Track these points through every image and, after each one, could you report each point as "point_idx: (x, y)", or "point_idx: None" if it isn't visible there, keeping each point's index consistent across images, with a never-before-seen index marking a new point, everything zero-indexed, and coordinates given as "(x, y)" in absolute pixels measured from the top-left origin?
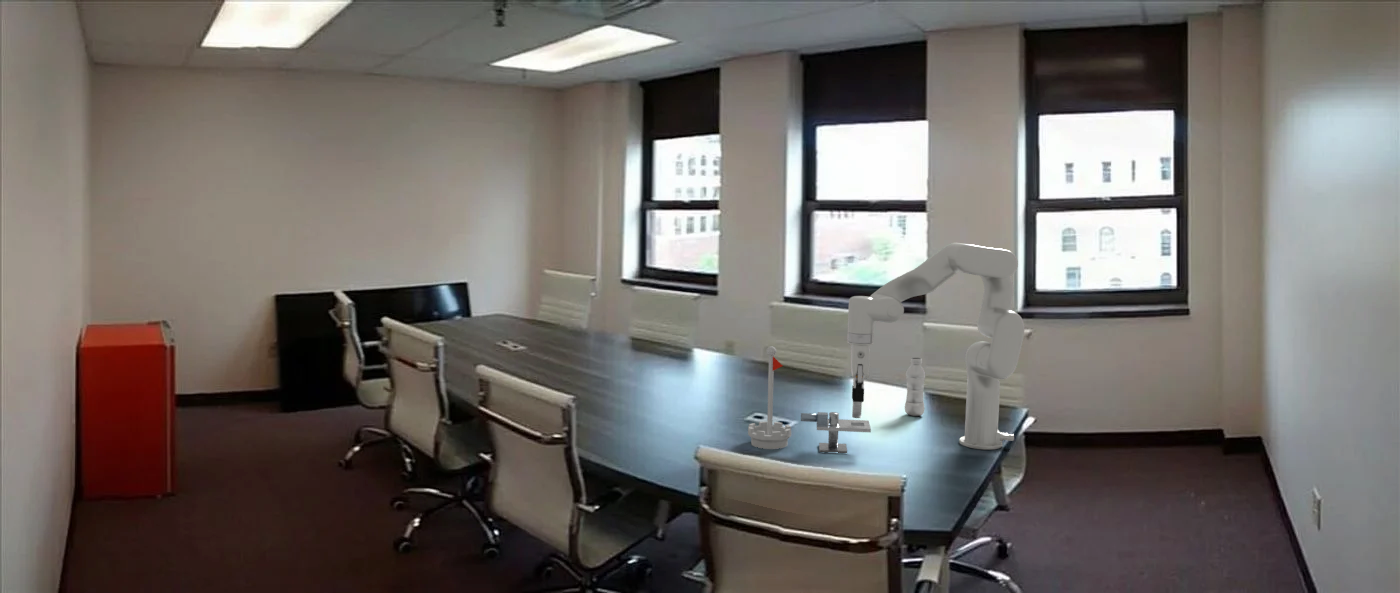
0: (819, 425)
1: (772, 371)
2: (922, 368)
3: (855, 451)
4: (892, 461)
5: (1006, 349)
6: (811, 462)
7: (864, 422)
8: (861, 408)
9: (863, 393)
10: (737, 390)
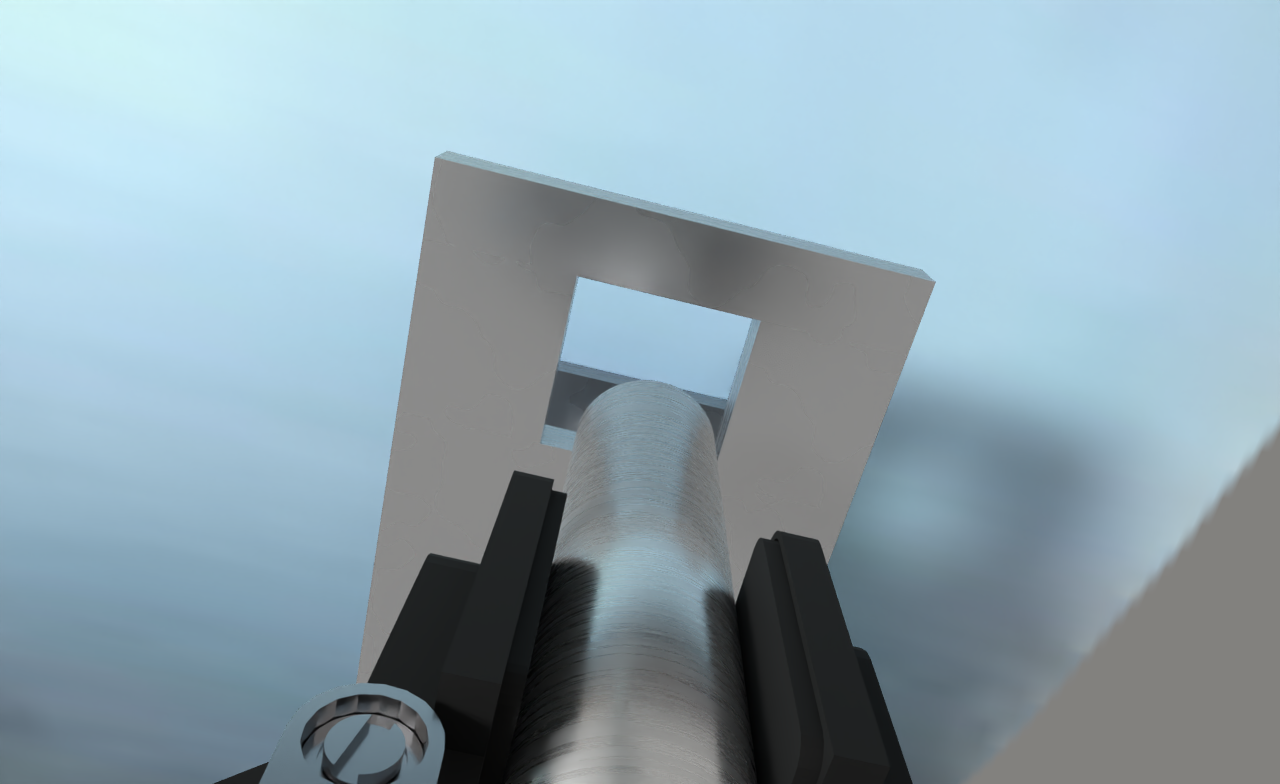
0: None
1: None
2: None
3: (674, 303)
4: (1086, 21)
5: None
6: (939, 724)
7: (554, 258)
8: (670, 447)
9: (849, 669)
10: None
